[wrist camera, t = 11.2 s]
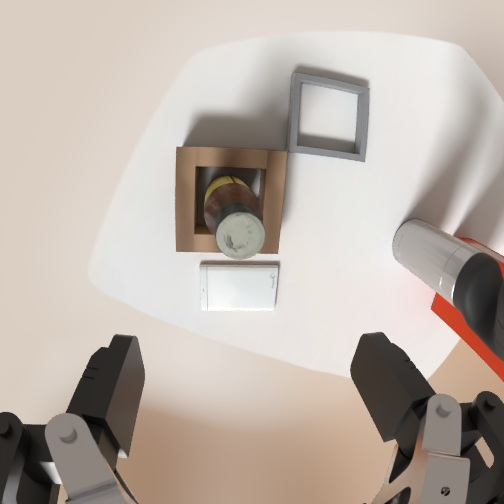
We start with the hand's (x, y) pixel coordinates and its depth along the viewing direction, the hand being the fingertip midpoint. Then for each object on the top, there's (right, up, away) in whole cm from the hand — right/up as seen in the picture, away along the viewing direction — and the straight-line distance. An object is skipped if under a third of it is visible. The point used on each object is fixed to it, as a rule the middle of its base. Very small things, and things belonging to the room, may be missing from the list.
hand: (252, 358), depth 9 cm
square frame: (+11, +24, +28) cm, 39 cm away
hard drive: (-2, -2, +37) cm, 37 cm away
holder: (-3, +12, +31) cm, 34 cm away
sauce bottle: (-4, +12, +31) cm, 34 cm away
